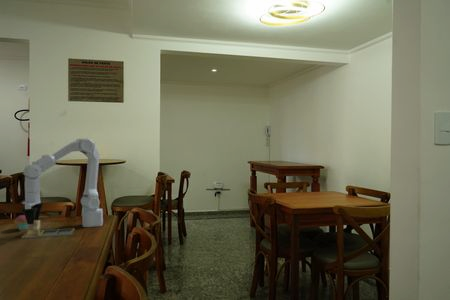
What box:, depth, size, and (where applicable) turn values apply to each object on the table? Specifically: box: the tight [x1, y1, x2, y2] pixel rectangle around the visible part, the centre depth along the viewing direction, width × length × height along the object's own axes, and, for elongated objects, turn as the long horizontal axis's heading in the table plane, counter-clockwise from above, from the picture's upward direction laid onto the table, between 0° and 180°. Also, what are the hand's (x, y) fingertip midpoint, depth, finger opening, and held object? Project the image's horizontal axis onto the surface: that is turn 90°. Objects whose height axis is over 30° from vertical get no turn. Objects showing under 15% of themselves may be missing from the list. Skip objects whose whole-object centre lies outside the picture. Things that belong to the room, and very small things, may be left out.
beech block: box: [27, 219, 41, 236], centre depth 144 cm, size 4×4×6 cm
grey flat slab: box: [20, 227, 76, 239], centre depth 146 cm, size 20×9×1 cm, turn 106°
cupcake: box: [14, 214, 28, 231], centre depth 156 cm, size 9×8×12 cm
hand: (33, 221), depth 144 cm, fingers open, 7 cm apart
